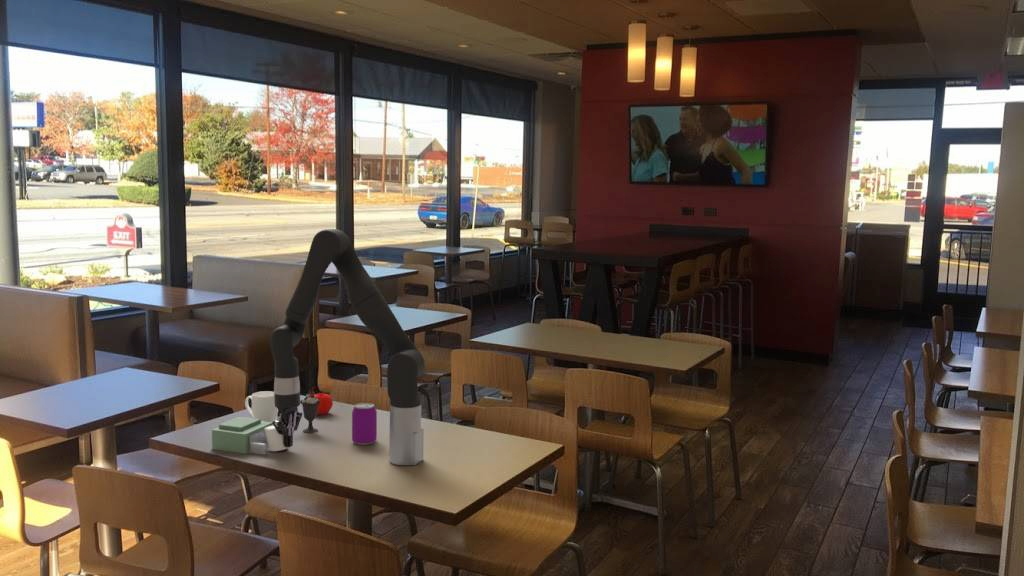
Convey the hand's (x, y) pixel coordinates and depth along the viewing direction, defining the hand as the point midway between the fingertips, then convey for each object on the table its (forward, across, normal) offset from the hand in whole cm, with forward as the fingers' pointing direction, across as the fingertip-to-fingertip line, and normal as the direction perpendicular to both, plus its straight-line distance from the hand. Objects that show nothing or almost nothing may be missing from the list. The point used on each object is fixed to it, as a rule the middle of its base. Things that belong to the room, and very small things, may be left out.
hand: (288, 446), depth 253 cm
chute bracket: (+1, 0, +7) cm, 8 cm away
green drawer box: (+1, 0, +16) cm, 16 cm away
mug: (+1, +19, +23) cm, 30 cm away
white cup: (+1, 0, +3) cm, 4 cm away
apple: (+2, +41, +13) cm, 43 cm away
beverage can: (+2, +17, -17) cm, 24 cm away
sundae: (+2, +21, +5) cm, 22 cm away
